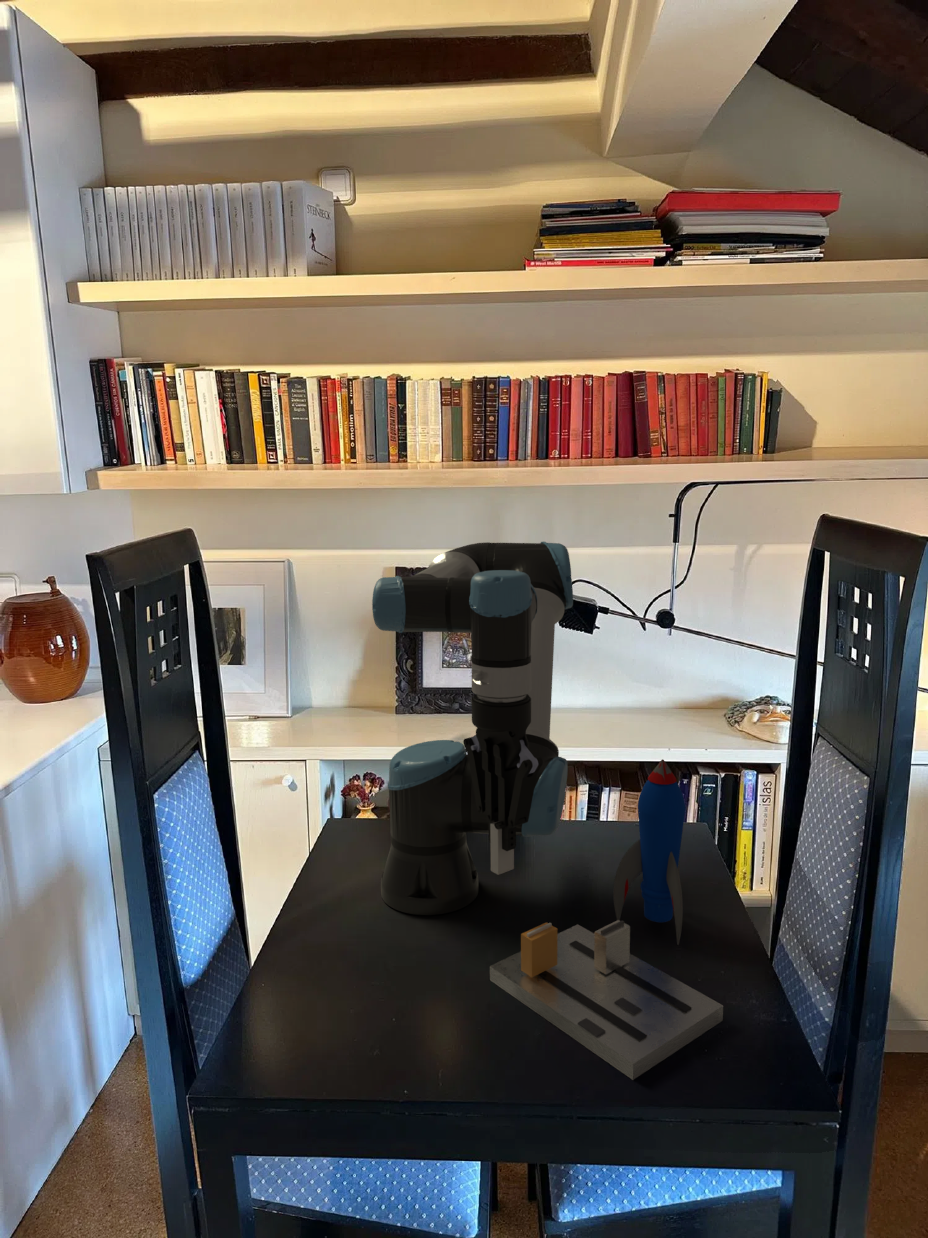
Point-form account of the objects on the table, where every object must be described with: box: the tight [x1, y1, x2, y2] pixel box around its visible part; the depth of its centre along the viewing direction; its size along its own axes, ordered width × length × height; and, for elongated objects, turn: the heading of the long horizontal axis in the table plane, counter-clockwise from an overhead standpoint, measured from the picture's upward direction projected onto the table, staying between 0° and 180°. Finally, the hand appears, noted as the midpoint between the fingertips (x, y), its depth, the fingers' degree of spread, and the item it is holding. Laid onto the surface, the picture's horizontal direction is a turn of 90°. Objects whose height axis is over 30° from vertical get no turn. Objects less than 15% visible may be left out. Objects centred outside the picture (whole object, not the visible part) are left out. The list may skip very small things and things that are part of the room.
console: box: [489, 919, 724, 1081], centre depth 109 cm, size 24×16×8 cm, turn 38°
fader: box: [520, 922, 558, 977], centre depth 112 cm, size 2×4×5 cm, turn 129°
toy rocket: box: [612, 759, 686, 946], centre depth 125 cm, size 11×10×25 cm
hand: (502, 869), depth 116 cm, fingers closed
